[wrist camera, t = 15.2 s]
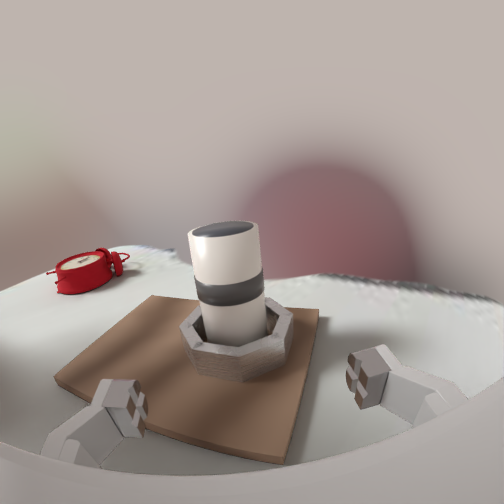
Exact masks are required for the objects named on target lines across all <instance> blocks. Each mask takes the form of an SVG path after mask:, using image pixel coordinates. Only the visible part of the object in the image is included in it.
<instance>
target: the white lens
mask: <svg viewBox="0 0 504 504" xmlns="http://www.w3.org/2000/svg"><path fill="white" fill-rule="evenodd" d="M188 238H189V245H190V251H191V257H192V263H193V269H194V278H195V284H196V289H197V295H198V298H199V302H200V307H201V312H202V317H203V322H204V327H205V331H206V336H207V341H208V343H212V344H219V345H225V346H233V347H240V346H243V345H246V344H248V343H251V342H254V341H256V340H259V339H262V338H264V337H267V336H268V332H267V320H266V308H265V297H264V278H263V268H262V264H261V254H260V242H259V232H258V224H256V223H254V222H249V221H227V222H219V223H213V224H208V225H204V226H201V227H198V228H195V229H193V230H191V231H190V232H189V233H188Z"/></svg>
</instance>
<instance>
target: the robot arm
mask: <svg viewBox="0 0 504 504" xmlns="http://www.w3.org/2000/svg"><path fill="white" fill-rule="evenodd" d="M348 363H349V364H350V366H349V367H348V368H347V370H346V382H347V385H348V388H349V389H350V391H351V392H353V393H355V398H354V399H355V401H356V402H357V404H358V406H359V408H360V410H362V409H366V408H369V407H372V406H376V405H379V404H380V406H382V407H384V408H385V409H387V410H389V411H390V412H392V413H394V414H395V415H397V416H399V417H400V418H402V419H404V420H405V421H407V422H409V423H411V424H412V427H411V429H409V430H407V431H404V432H402V433H400V434H397V435H395V436H392V437H389V438H387V439H384V440H382V441H379V442H376V443H373V444H370V445H367V446H364V447H361V448H358V449H355V450H352V451H349V452H345V453H342V454H338V455H335V456H331V457H327V458H323V459H319V460H315V461H311V462H306V463H301V464H297V465H291V466H286V467H280V468H274V469H268V470H261V471H253V472H244V473H233V474H220V475H193V476H177V475H151V474H138V473H128V472H119V471H111V470H105V469H102V468H101V467H100V466H99V465H100V464H101V463H102V462H103V461H104V460H105V458H106V457H107V456H108V455H109V454H110V453H111V452H112V451H113V450H114V448H115V447H116V446H117V445H118V444H119V443H120V442H121V441H122V440H123V437H133V438H143V436H144V431H145V426H146V425H145V423H144V421H143V420H144V419H145V418H147V416H148V402H147V399H146V396H145V395H144V394H143V393H142V392H140V390H141V385H140V383H139V381H138V380H126V379H102V380H101V381H100V383H99V385H98V388H97V390H96V393H95V395H94V397H93V400H92V402H91V405H90V406H86V407H85V408H83V409H82V410H81V411H79V412H78V413H76V414H75V415H74V416H72V417H71V418H70V419H68V420H67V421H65V422H64V423H63V424H61V425H60V426H59V427H57V428H56V429H54V430H53V431H52V432H50V433H49V434H48V436H47V438H46V440H45V443H44V445H43V447H42V450H41V452H40V455H38V454H35V453H31V452H28V451H25V450H22V449H19V448H17V447H14V446H11V445H8V444H6V443H3V442H1V441H0V504H504V377H503V378H501V379H500V380H498V381H497V382H495V383H494V384H492V385H491V386H489V387H488V388H486V389H485V390H483V391H482V392H480V393H478V394H477V395H475V396H474V397H472V398H470V399H468V398H467V397H466V396H465V395H464V394H463V393H462V392H461V390H460V389H459V388H458V387H457V386H456V385H455V384H454V383H453V382H451V381H448V380H445V379H442V378H439V377H436V376H434V375H431V374H428V373H425V372H422V371H420V370H417V369H414V368H411V367H409V366H405V367H404V366H403V365H402V364H401V363H400V362H399V360H398V359H397V358H396V357H395V356H394V354H393V353H392V352H391V351H390V350H389V348H388V347H387V346H386V345H384V344H382V345H378V346H375V347H372V348H368V349H365V350H361V351H357V352H353V353H350V354H349V356H348Z"/></svg>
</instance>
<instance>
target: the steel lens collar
mask: <svg viewBox="0 0 504 504" xmlns="http://www.w3.org/2000/svg"><path fill="white" fill-rule="evenodd" d="M265 308H266V320H267V329H269V330H270V331H271V332H272V335H269V336H267V337H264V338H262V339H259V340H256V341H254V342H251V343H248V344H246V345H243V346H240V347H233V346H225V345H219V344H212V343H205V342H203V341H204V340H205V338H206V337H207V336H206V331H205V327H204V322H203V317H202V312H201V307H200V305H199V306H197V307H196V308H195V309H194V311H193V312H192V313H191V314H190V315H189V316H188V317H187V318H186V319H185V320H184V321H183V322H182V323H181V325H180V326H179V329H180V333H181V337H182V341H183V345H184V349H185V351H186V353H187V355H188V357H189V359H190V360H191V362H192V364H193V366H194V368H195V369H196V371H197V373H198V375H204V376H209V377H214V378H219V379H224V380H230V381H236V382H242V383H243V382H246V381H248V380H251V379H253V378H255V377H258V376H260V375H263V374H265V373H267V372H270V371H272V370H274V369H277V368H279V367H281V366H283V365H285V363H286V360H287V357H288V353H289V350H290V347H291V344H292V341H293V313H291V312H290V311H288V310H287V309H285V308H284V307H283V306H281V305H280V304H278V303H277V302H276V301H274V300H273V299H271V298H267V297H265Z"/></svg>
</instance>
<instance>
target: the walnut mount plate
mask: <svg viewBox="0 0 504 504" xmlns="http://www.w3.org/2000/svg"><path fill="white" fill-rule="evenodd" d="M199 305H200V302H199V300H189V299H180V298H171V297H162V296H154V295H151V296H150V297H149V298H148V299H146V300H145V301H144V302H143V303H141V304H140V305H139V306H138V307H136V308H135V309H134V310H133V311H131V312H130V313H129V314H128V315H126V316H125V317H124V318H123V319H122V320H120V321H119V322H118V323H117V324H115V325H114V326H113V327H112V328H111V329H109V330H108V331H107V332H106V333H104V334H103V335H102V336H101V337H100V338H98V339H97V340H96V341H95V342H94V343H92V344H91V345H90V346H89V347H88V348H86V349H85V350H84V351H83V352H82V353H80V354H79V355H78V356H77V357H76V358H75V359H73V360H72V361H71V362H70V363H69V364H67V365H66V366H65V367H64V368H63V369H62V370H60V371H59V372H58V373H57V374H56V375H55V376H53V377H54V379H55V381H56V382H57V384H58V385H59V386H61V387H62V388H64V389H66V390H67V391H69V392H71V393H73V394H75V395H76V396H78V397H80V398H82V399H84V400H86V401H87V402H89V403H91V402H92V400H93V397H94V395H95V393H96V390H97V388H98V385H99V383H100V381H101V380H102V379H126V380H138V381H139V383H140V385H141V390H140V392H142V393H143V394H144V395H145V396H146V399H147V402H148V416H147V418H145V419H144V420H143V421H144V423H145V425H146V426H145V428H146V429H149V430H151V431H154V432H157V433H159V434H162V435H165V436H168V437H171V438H174V439H177V440H180V441H183V442H186V443H189V444H192V445H195V446H199V447H202V448H206V449H209V450H213V451H217V452H221V453H225V454H229V455H233V456H238V457H242V458H247V459H252V460H257V461H263V462H269V463H275V464H281V465H283V463H284V460H285V457H286V454H287V450H288V447H289V443H290V440H291V436H292V432H293V429H294V425H295V421H296V418H297V414H298V410H299V406H300V402H301V398H302V394H303V390H304V385H305V381H306V377H307V372H308V368H309V363H310V359H311V354H312V349H313V344H314V339H315V334H316V329H317V324H318V318H319V309H305V308H287V307H284V308H285V309H287V310H288V311H290V312H291V313H293V341H292V344H291V347H290V350H289V353H288V357H287V360H286V363H285V365H283V366H281V367H279V368H277V369H274V370H272V371H270V372H267V373H265V374H263V375H260V376H258V377H255V378H253V379H251V380H248V381H246V382H243V383H242V382H236V381H230V380H224V379H219V378H214V377H209V376H204V375H198V373H197V371H196V369H195V368H194V366H193V364H192V362H191V360H190V359H189V357H188V355H187V353H186V351H185V349H184V345H183V341H182V337H181V333H180V329H179V326H180V325H181V323H182V322H183V321H184V320H185V319H186V318H187V317H188V316H189V315H190V314H191V313H192V312H193V311H194V309H195V308H196V307H197V306H199ZM267 332H268V336H269V335H272V332H271V331H270V330H269V329H267ZM203 342H205V343H208V341H207V337H206V338H205V340H204V341H203Z"/></svg>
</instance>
